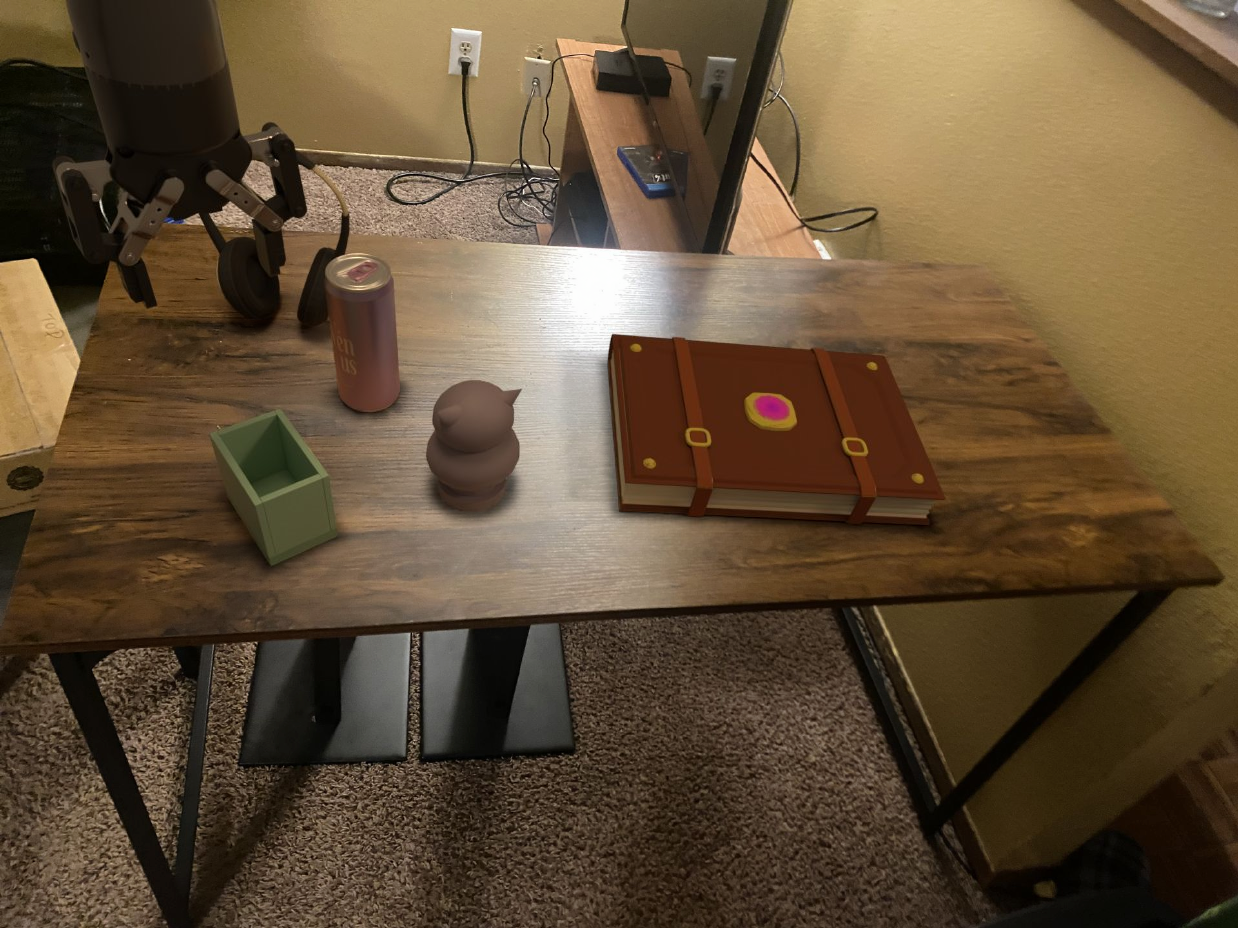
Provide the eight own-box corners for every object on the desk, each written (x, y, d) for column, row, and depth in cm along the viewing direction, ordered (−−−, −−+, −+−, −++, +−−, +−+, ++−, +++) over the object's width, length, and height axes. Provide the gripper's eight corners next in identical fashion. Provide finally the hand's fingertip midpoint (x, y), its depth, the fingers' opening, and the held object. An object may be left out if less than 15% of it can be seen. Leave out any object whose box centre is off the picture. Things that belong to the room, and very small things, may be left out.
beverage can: (412, 393, 86) (407, 270, 75) (370, 424, 82) (358, 299, 71) (369, 367, 88) (357, 243, 77) (326, 396, 84) (307, 270, 73)
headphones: (233, 283, 93) (193, 108, 79) (367, 299, 95) (353, 131, 81) (207, 331, 88) (159, 151, 73) (351, 347, 89) (332, 175, 75)
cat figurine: (493, 443, 83) (499, 350, 74) (532, 498, 79) (542, 406, 70) (412, 471, 79) (408, 376, 70) (448, 530, 75) (449, 436, 66)
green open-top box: (208, 433, 68) (254, 505, 64) (280, 407, 71) (329, 475, 67) (227, 496, 74) (270, 566, 70) (293, 470, 77) (338, 536, 73)
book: (928, 528, 84) (950, 496, 80) (619, 513, 79) (627, 478, 75) (868, 377, 99) (884, 345, 96) (606, 358, 94) (613, 322, 91)
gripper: (33, 97, 42) (121, 345, 54) (304, 62, 50) (330, 287, 61) (-7, 38, 46) (85, 283, 58) (252, 13, 53) (286, 235, 65)
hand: (211, 285), depth 59 cm, fingers open, 8 cm apart
